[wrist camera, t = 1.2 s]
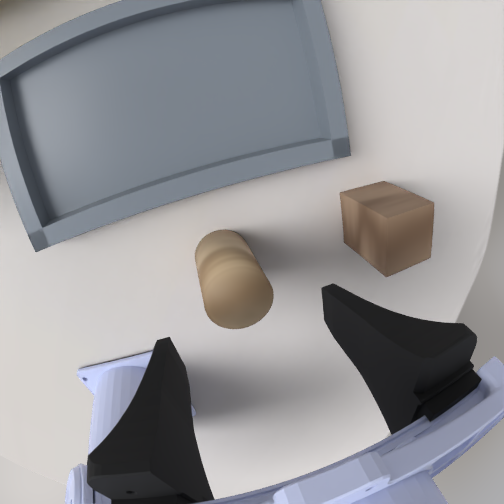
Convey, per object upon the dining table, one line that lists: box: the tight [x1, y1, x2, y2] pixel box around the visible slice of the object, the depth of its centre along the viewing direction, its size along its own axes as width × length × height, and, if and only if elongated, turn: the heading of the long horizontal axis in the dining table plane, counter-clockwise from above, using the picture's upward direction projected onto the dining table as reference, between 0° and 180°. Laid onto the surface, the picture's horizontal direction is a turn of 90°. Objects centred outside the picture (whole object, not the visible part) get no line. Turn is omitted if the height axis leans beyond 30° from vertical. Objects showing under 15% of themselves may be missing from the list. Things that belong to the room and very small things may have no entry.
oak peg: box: [195, 230, 273, 329], centre depth 18 cm, size 4×4×6 cm
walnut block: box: [340, 181, 434, 277], centre depth 19 cm, size 4×4×6 cm
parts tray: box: [0, 0, 351, 252], centre depth 14 cm, size 12×20×2 cm, turn 102°
